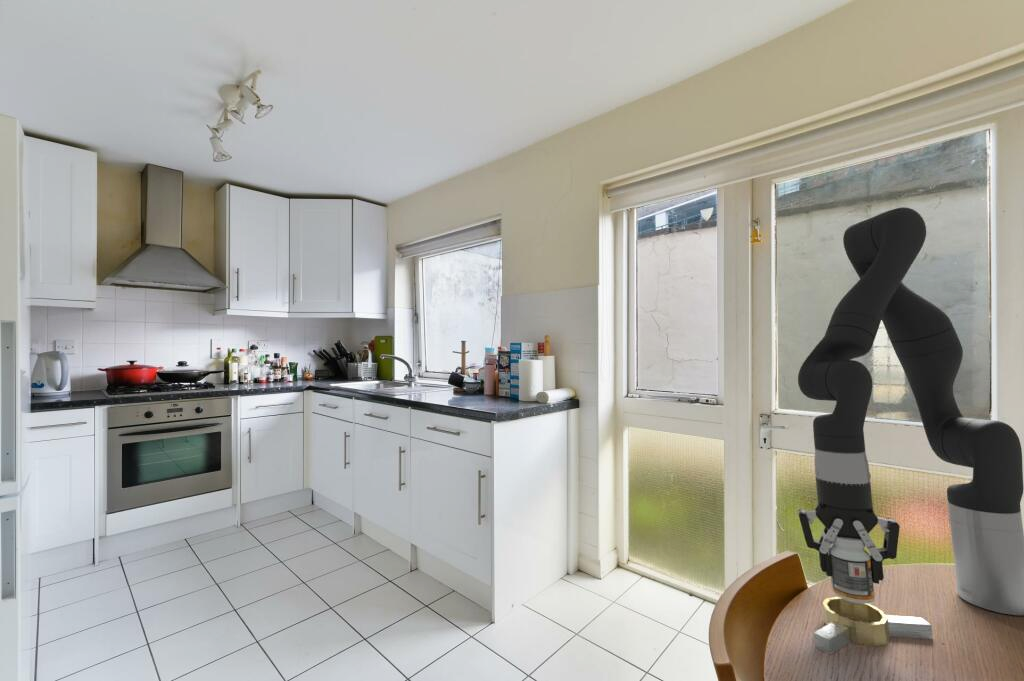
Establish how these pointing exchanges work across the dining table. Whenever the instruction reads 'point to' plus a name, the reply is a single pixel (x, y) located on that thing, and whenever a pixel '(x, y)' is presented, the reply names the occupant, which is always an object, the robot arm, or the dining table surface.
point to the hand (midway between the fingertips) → (851, 577)
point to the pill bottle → (851, 570)
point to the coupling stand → (864, 625)
